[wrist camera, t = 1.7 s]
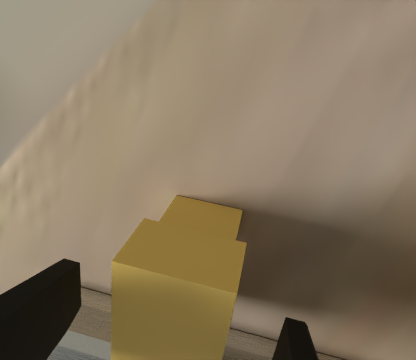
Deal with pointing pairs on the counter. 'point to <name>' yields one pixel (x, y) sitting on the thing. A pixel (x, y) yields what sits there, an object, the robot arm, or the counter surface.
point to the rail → (101, 336)
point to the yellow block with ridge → (177, 284)
